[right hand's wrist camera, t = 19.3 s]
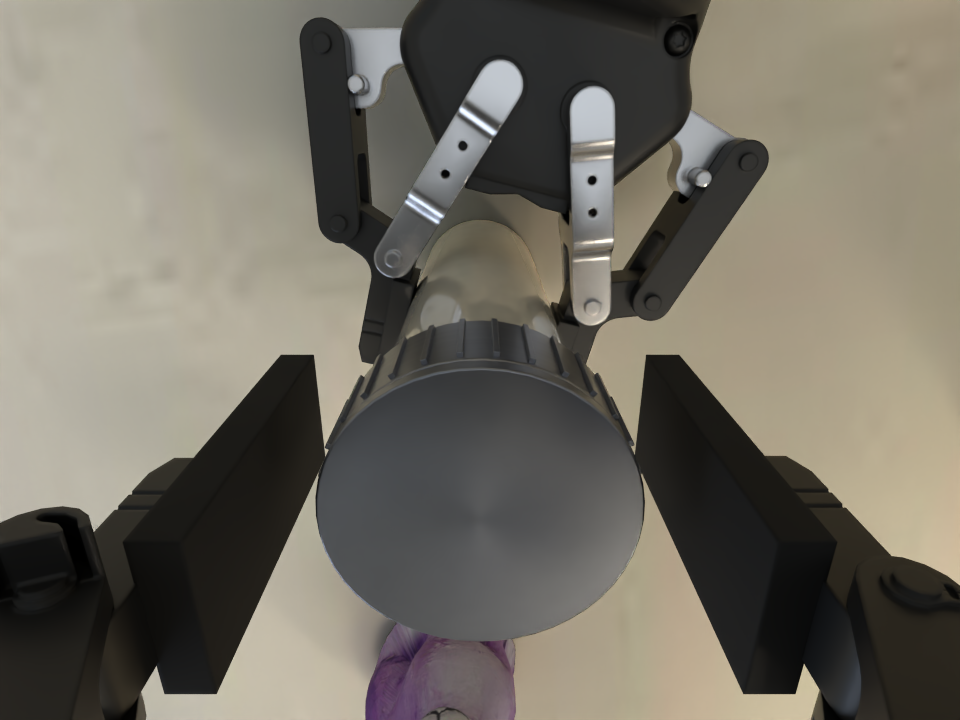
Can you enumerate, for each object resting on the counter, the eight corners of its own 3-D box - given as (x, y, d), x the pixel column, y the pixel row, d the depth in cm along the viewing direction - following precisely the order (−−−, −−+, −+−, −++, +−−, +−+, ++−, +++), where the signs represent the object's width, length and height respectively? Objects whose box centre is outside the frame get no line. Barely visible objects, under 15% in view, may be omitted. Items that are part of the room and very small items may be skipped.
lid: (614, 299, 11) (648, 343, 9) (622, 545, 13) (651, 631, 11) (313, 332, 11) (274, 383, 9) (369, 569, 14) (347, 658, 11)
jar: (409, 241, 26) (307, 419, 10) (514, 203, 25) (567, 333, 10) (448, 339, 27) (409, 615, 12) (547, 305, 27) (637, 552, 12)
